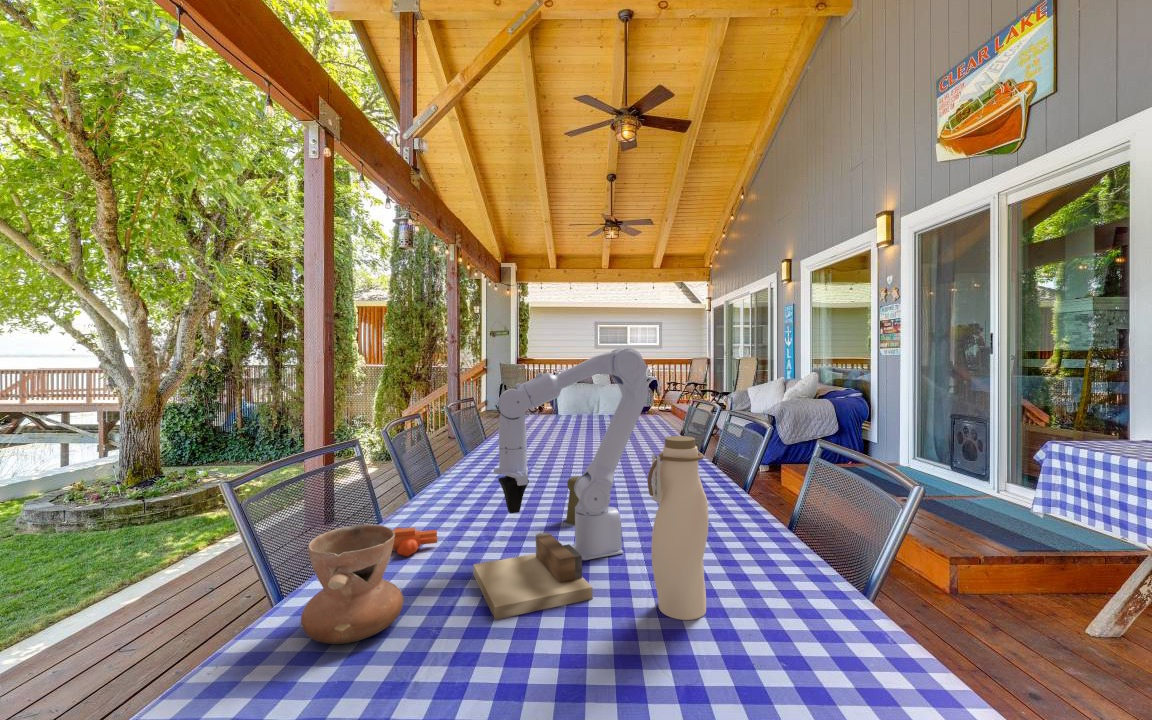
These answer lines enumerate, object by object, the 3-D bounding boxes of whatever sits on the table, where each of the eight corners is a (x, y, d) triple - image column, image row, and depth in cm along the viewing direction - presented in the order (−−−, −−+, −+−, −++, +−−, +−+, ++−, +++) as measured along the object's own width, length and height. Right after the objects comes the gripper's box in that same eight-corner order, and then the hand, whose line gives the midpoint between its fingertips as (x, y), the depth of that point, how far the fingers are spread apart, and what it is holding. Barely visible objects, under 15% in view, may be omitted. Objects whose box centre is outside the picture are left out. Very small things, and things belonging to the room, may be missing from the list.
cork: (587, 525, 124) (587, 480, 124) (563, 523, 125) (563, 479, 125) (591, 517, 130) (591, 474, 130) (569, 516, 131) (568, 474, 131)
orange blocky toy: (436, 519, 112) (379, 524, 109) (436, 541, 106) (375, 547, 102) (437, 537, 114) (380, 543, 111) (437, 560, 107) (377, 567, 104)
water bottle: (671, 630, 76) (669, 446, 76) (637, 605, 84) (635, 437, 84) (722, 613, 81) (720, 440, 81) (685, 591, 89) (683, 432, 89)
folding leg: (533, 554, 100) (533, 534, 100) (548, 551, 101) (548, 532, 101) (559, 582, 88) (558, 559, 88) (575, 578, 89) (575, 556, 89)
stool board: (556, 560, 103) (556, 530, 103) (592, 598, 86) (592, 564, 86) (473, 574, 97) (472, 543, 97) (495, 619, 80) (494, 582, 80)
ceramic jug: (390, 655, 71) (389, 555, 71) (280, 665, 69) (278, 562, 69) (413, 595, 89) (412, 515, 88) (326, 602, 86) (325, 519, 86)
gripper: (486, 443, 110) (487, 505, 110) (502, 454, 96) (503, 525, 96) (517, 440, 112) (518, 501, 113) (537, 451, 99) (538, 520, 99)
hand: (513, 512), depth 105 cm, fingers closed
